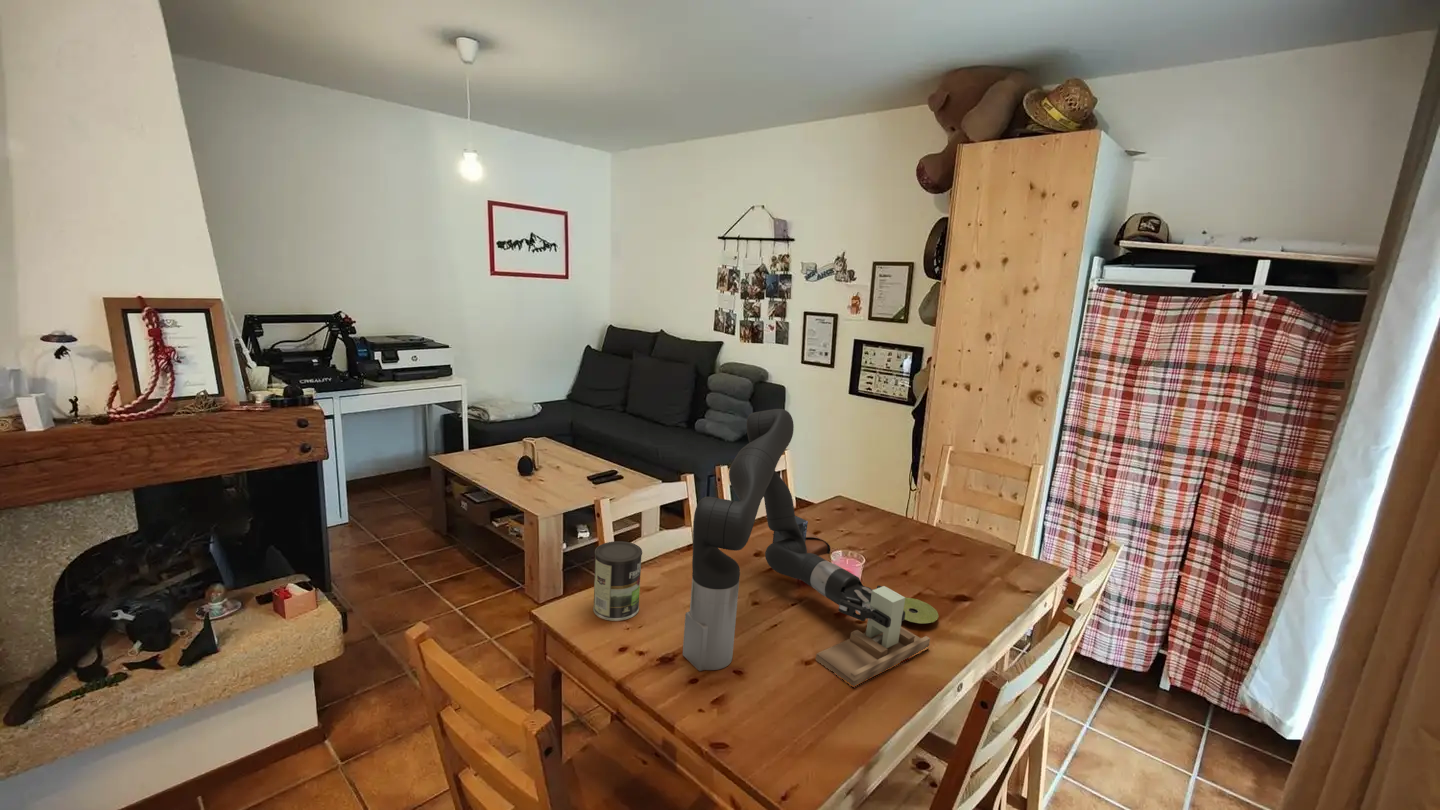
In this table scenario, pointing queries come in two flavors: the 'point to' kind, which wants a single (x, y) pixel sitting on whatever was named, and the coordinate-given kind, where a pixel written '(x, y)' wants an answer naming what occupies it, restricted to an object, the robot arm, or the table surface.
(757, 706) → the table surface
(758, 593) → the table surface
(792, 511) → the robot arm
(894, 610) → the clip
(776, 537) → the box
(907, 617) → the green washer
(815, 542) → the sunglasses case
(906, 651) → the wooden socket base
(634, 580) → the coffee can
